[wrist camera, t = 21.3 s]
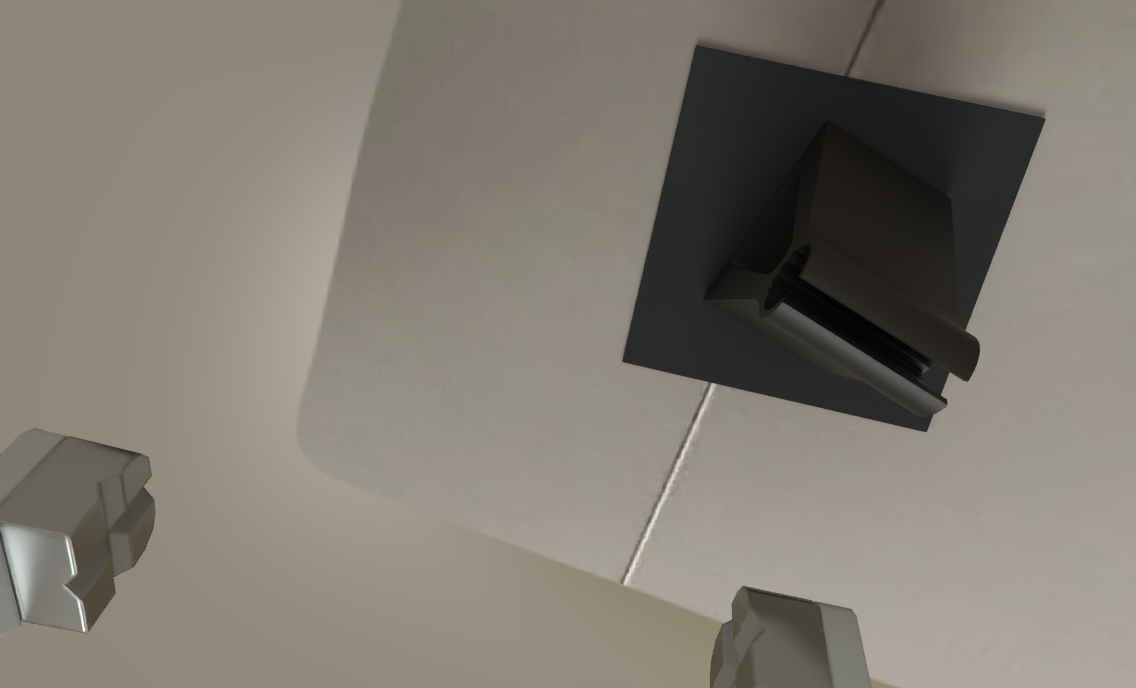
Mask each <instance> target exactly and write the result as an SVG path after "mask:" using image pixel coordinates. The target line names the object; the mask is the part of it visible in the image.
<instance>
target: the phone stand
mask: <svg viewBox="0 0 1136 688" xmlns="http://www.w3.org/2000/svg"><path fill="white" fill-rule="evenodd" d="M703 300H704V301H706V302H707V303H709V304H711V305H712V306H714V307H715V308H717V309H719V310H720V311H722V312H723V313H725V314H727V315H728V316H730V317H731V318H733V319H735V320H736V321H738V322H739V323H741V324H743V325H744V326H746V327H748V328H749V329H751V330H752V331H754V332H756V333H757V334H759V335H760V336H762V337H764V338H765V339H767V340H768V341H770V342H772V343H773V344H775V345H776V346H778V347H780V348H781V349H783V350H785V351H786V352H788V353H789V354H791V355H793V356H794V357H796V358H797V359H799V360H801V361H802V362H804V363H805V364H807V365H809V366H810V367H812V368H813V369H815V370H817V371H821V372H825V373H829V374H833V375H838V376H842V377H846V378H851V379H855V380H859V381H863V382H865V383H866V384H868V385H870V386H871V387H873V388H874V389H876V390H878V391H879V392H881V393H882V394H884V395H886V396H887V397H889V398H890V399H892V400H894V401H895V402H897V403H898V404H900V405H902V406H903V407H905V408H906V409H908V410H910V411H911V412H913V413H914V414H916V415H918V416H920V417H927V416H931V415H933V414H935V413H937V412H939V411H941V410H942V409H943V408H945V407H946V406H947V399H945V398H944V397H942V396H940V395H939V394H937V393H936V392H934V391H933V390H931V389H929V388H928V387H926V386H925V385H923V384H921V382H922V381H923V380H922V374H923V373H924V372H925V371H927V370H928V369H930V366H931V363H932V361H933V362H935V363H936V364H938V365H939V366H941V367H943V368H944V369H946V370H947V371H949V372H950V373H952V374H954V375H955V376H957V377H958V378H960V379H962V380H963V381H967V382H968V381H969V379H970V377H971V376H972V374H973V372H974V370H975V367H976V365H977V362H978V358H979V353H980V345H979V342H978V340H977V338H975V337H974V336H972V335H971V334H969V333H968V332H966V331H965V330H964V329H963V327H962V325H961V322H960V315H959V301H958V288H957V274H956V260H955V247H954V233H953V219H952V206H951V198H949V197H948V196H946V195H944V194H943V193H941V192H940V191H938V190H937V189H935V188H934V187H932V186H930V185H929V184H927V183H926V182H924V181H923V180H921V179H920V178H918V177H916V176H915V175H913V174H912V173H910V172H909V171H907V170H906V169H904V168H903V167H901V166H899V165H898V164H896V163H895V162H893V161H892V160H890V159H889V158H887V157H885V156H884V155H882V154H881V153H879V152H878V151H876V150H875V149H873V148H871V147H870V146H868V145H867V144H865V143H864V142H862V141H861V140H859V139H857V138H856V137H854V136H853V135H851V134H850V133H848V132H847V131H845V130H843V129H842V128H840V127H839V126H837V125H836V124H834V123H833V122H831V121H830V120H827V121H826V122H825V123H824V124H823V126H822V127H821V128H820V130H819V131H818V133H817V134H816V136H815V137H814V138H813V140H812V141H811V143H810V144H809V146H808V147H807V149H806V150H805V151H804V153H803V154H802V156H801V157H800V159H799V160H798V161H797V163H796V164H795V166H794V167H793V169H792V170H791V171H790V173H789V174H788V176H787V177H786V179H785V180H784V182H783V183H782V184H781V186H780V187H779V189H778V190H777V192H776V193H775V194H774V196H773V197H772V199H771V200H770V202H769V203H768V205H767V206H766V207H765V210H764V212H763V213H762V214H761V215H760V216H759V217H758V219H757V220H756V222H755V223H754V225H753V226H752V228H751V229H750V230H749V232H748V233H747V235H746V236H745V238H744V239H743V240H742V242H741V243H740V245H739V246H738V248H737V249H736V250H735V252H734V253H733V255H732V256H731V258H730V259H729V261H728V262H727V263H726V265H725V266H724V268H723V269H722V271H721V272H720V273H719V275H718V276H717V278H716V279H715V281H714V282H713V284H712V285H711V286H710V288H709V289H708V291H707V292H706V294H705V296H704V298H703Z"/></svg>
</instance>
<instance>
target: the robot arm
mask: <svg viewBox="0 0 1136 688" xmlns="http://www.w3.org/2000/svg"><path fill="white" fill-rule="evenodd" d="M151 476H152V473H151V467H150V461H149V457H147V456H145V455H143V454H140V453H136V452H132V451H128V450H124V449H120V448H116V447H112V446H108V445H104V444H100V443H96V442H92V441H87V440H84V439H79V438H75V437H69V436H65V435H61V434H57V433H53V432H49V431H45V430H40V429H36V428H33V429H31V430H28V431H26V432H24V433H22V434H20V435H19V436H18V437H17V438H16V439H15V440H14V441H13V442H12V443H11V444H10V445H9V446H8V447H7V448H6V449H5V450H4V451H3V452H2V453H1V454H0V638H1V637H3V636H5V635H6V634H8V633H10V632H11V631H13V630H14V629H16V628H17V627H19V626H21V621H23V622H28V623H33V624H39V625H44V626H49V627H55V628H60V629H65V630H70V631H75V632H81V633H88V632H89V631H90V629H91V628H92V626H93V625H94V623H95V622H96V621H97V619H98V618H99V616H100V615H101V613H102V612H103V611H104V609H105V608H106V606H107V605H108V603H109V602H110V600H111V599H112V598H113V596H114V595H115V585H114V579H113V577H115V576H117V575H119V574H121V573H122V572H125V571H127V570H129V569H131V568H133V567H134V566H135V564H136V563H137V561H138V560H139V558H140V557H141V555H142V554H143V552H144V551H145V548H146V546H147V543H148V541H149V538H150V536H151V533H152V531H153V527H154V519H155V502H154V499H153V497H152V496H151V495H150V494H149V493H148V492H147V490H146V489H145V488H144V485H145V484H146V483H147V481H148V480H149V479H150V477H151ZM710 688H872V687H871V683H870V678H869V673H868V668H867V663H866V659H865V654H864V649H863V644H862V640H861V635H860V630H859V625H858V621H857V616H856V615H855V613H854V612H853V610H852V609H849V608H844V607H839V606H835V605H830V604H825V603H821V602H813V601H812V600H808V599H803V598H798V597H793V596H789V595H784V594H779V593H774V592H770V591H765V590H760V589H755V588H750V587H746V586H742V587H741V588H740V589H739V590H738V592H737V594H736V596H735V598H734V600H733V602H732V620H730V621H728V622H726V623H724V624H723V625H722V626H721V629H720V631H719V634H718V636H717V638H716V641H715V645H714V650H713V655H712V659H711V669H710Z"/></svg>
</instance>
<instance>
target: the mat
mask: <svg viewBox="0 0 1136 688" xmlns="http://www.w3.org/2000/svg"><path fill="white" fill-rule="evenodd" d="M827 120H830V121H831V122H833V123H834V124H836V125H837V126H839V127H840V128H842V129H843V130H845V131H847V132H848V133H850V134H851V135H853V136H854V137H856V138H857V139H859V140H861V141H862V142H864V143H865V144H867V145H868V146H870V147H871V148H873V149H875V150H876V151H878V152H879V153H881V154H882V155H884V156H885V157H887V158H889V159H890V160H892V161H893V162H895V163H896V164H898V165H899V166H901V167H903V168H904V169H906V170H907V171H909V172H910V173H912V174H913V175H915V176H916V177H918V178H920V179H921V180H923V181H924V182H926V183H927V184H929V185H930V186H932V187H934V188H935V189H937V190H938V191H940V192H941V193H943V194H944V195H946V196H948V197H949V198H951V206H952V219H953V233H954V247H955V260H956V274H957V288H958V301H959V315H960V322H961V325H962V327H963V329H964V330H966V327H967V325H968V322H969V319H970V317H971V314H972V311H973V309H974V306H975V303H976V301H977V298H978V296H979V293H980V290H981V288H982V285H983V282H984V280H985V277H986V275H987V272H988V269H989V267H990V264H991V261H992V259H993V256H994V254H995V251H996V248H997V246H998V243H999V240H1000V238H1001V235H1002V232H1003V230H1004V227H1005V225H1006V222H1007V219H1008V217H1009V214H1010V211H1011V209H1012V206H1013V204H1014V201H1015V198H1016V196H1017V193H1018V190H1019V188H1020V185H1021V182H1022V180H1023V177H1024V175H1025V172H1026V169H1027V167H1028V164H1029V161H1030V159H1031V156H1032V154H1033V151H1034V148H1035V146H1036V143H1037V140H1038V138H1039V135H1040V132H1041V130H1042V127H1043V125H1044V122H1045V118H1041V117H1036V116H1031V115H1026V114H1021V113H1017V112H1012V111H1007V110H1002V109H997V108H993V107H988V106H983V105H978V104H973V103H969V102H964V101H959V100H954V99H950V98H945V97H940V96H935V95H930V94H926V93H921V92H916V91H911V90H906V89H902V88H897V87H892V86H887V85H882V84H878V83H873V82H868V81H863V80H858V79H854V78H849V77H844V76H839V75H834V74H830V73H825V72H820V71H815V70H810V69H806V68H801V67H796V66H791V65H786V64H782V63H777V62H772V61H767V60H762V59H758V58H753V57H748V56H743V55H738V54H734V53H729V52H724V51H719V50H714V49H710V48H705V47H700V46H696V49H695V53H694V57H693V62H692V66H691V70H690V75H689V79H688V83H687V87H686V92H685V96H684V100H683V105H682V109H681V113H680V117H679V122H678V126H677V130H676V135H675V139H674V143H673V147H672V152H671V156H670V160H669V165H668V169H667V173H666V177H665V182H664V186H663V190H662V195H661V199H660V203H659V207H658V212H657V216H656V220H655V225H654V229H653V233H652V237H651V242H650V246H649V250H648V255H647V259H646V263H645V267H644V272H643V276H642V280H641V285H640V289H639V293H638V297H637V302H636V306H635V310H634V315H633V319H632V323H631V327H630V332H629V336H628V340H627V345H626V349H625V353H624V357H623V362H625V363H629V364H634V365H638V366H642V367H647V368H651V369H655V370H660V371H664V372H668V373H673V374H677V375H681V376H686V377H690V378H694V379H699V380H703V381H707V382H712V383H716V384H720V385H725V386H729V387H733V388H738V389H742V390H746V391H751V392H755V393H759V394H764V395H768V396H772V397H776V398H781V399H785V400H789V401H794V402H798V403H802V404H807V405H811V406H815V407H820V408H824V409H828V410H833V411H837V412H841V413H846V414H850V415H854V416H859V417H863V418H867V419H872V420H876V421H880V422H885V423H889V424H893V425H898V426H902V427H906V428H911V429H915V430H919V431H924V432H927V430H928V427H929V424H930V422H931V419H932V417H933V415H931V416H927V417H920V416H918V415H916V414H914V413H913V412H911V411H910V410H908V409H906V408H905V407H903V406H902V405H900V404H898V403H897V402H895V401H894V400H892V399H890V398H889V397H887V396H886V395H884V394H882V393H881V392H879V391H878V390H876V389H874V388H873V387H871V386H870V385H868V384H866V383H865V382H863V381H859V380H855V379H851V378H846V377H842V376H838V375H833V374H829V373H825V372H821V371H817V370H815V369H813V368H812V367H810V366H809V365H807V364H805V363H804V362H802V361H801V360H799V359H797V358H796V357H794V356H793V355H791V354H789V353H788V352H786V351H785V350H783V349H781V348H780V347H778V346H776V345H775V344H773V343H772V342H770V341H768V340H767V339H765V338H764V337H762V336H760V335H759V334H757V333H756V332H754V331H752V330H751V329H749V328H748V327H746V326H744V325H743V324H741V323H739V322H738V321H736V320H735V319H733V318H731V317H730V316H728V315H727V314H725V313H723V312H722V311H720V310H719V309H717V308H715V307H714V306H712V305H711V304H709V303H707V302H706V301H704V300H703V298H704V296H705V294H706V292H707V291H708V289H709V288H710V286H711V285H712V284H713V282H714V281H715V279H716V278H717V276H718V275H719V273H720V272H721V271H722V269H723V268H724V266H725V265H726V263H727V262H728V261H729V259H730V258H731V256H732V255H733V253H734V252H735V250H736V249H737V248H738V246H739V245H740V243H741V242H742V240H743V239H744V238H745V236H746V235H747V233H748V232H749V230H750V229H751V228H752V226H753V225H754V223H755V222H756V220H757V219H758V217H759V216H760V215H761V214H762V213H763V212H764V210H765V207H766V206H767V205H768V203H769V202H770V200H771V199H772V197H773V196H774V194H775V193H776V192H777V190H778V189H779V187H780V186H781V184H782V183H783V182H784V180H785V179H786V177H787V176H788V174H789V173H790V171H791V170H792V169H793V167H794V166H795V164H796V163H797V161H798V160H799V159H800V157H801V156H802V154H803V153H804V151H805V150H806V149H807V147H808V146H809V144H810V143H811V141H812V140H813V138H814V137H815V136H816V134H817V133H818V131H819V130H820V128H821V127H822V126H823V124H824V123H825V122H826V121H827ZM948 375H949V371H947V370H946V369H944V368H943V367H941V366H939V365H938V364H936V363H935V362H933V361H932V363H931V366H930V369H928V370H927V371H925V372H924V373H923V374H922V380H923V381H922V382H921V384H923V385H925V386H926V387H928V388H929V389H931V390H933V391H934V392H936V393H937V394H939V395H940V396H941V393H942V390H943V388H944V385H945V382H946V380H947V377H948Z"/></svg>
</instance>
